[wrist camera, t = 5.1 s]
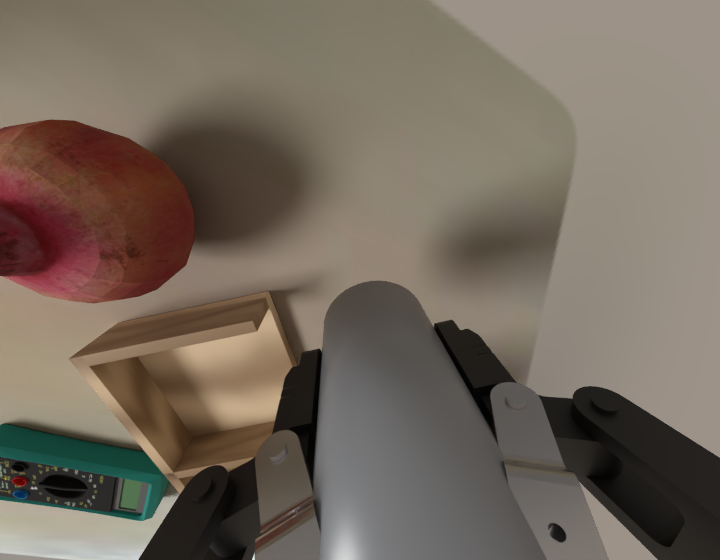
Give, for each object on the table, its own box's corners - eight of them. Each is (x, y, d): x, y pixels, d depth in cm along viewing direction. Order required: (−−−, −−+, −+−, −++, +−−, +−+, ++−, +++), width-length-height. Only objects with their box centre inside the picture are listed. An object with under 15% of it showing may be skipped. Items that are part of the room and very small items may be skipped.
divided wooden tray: (117, 322, 20) (68, 358, 17) (268, 291, 20) (252, 320, 16) (241, 504, 30) (227, 551, 27) (343, 484, 30) (343, 530, 26)
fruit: (174, 287, 19) (23, 400, 10) (57, 198, 17) (-292, 245, 7) (249, 211, 18) (149, 266, 8) (132, 97, 15) (-204, -2, 6)
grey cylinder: (311, 294, 12) (244, 665, 3) (418, 270, 12) (641, 584, 3) (337, 374, 15) (339, 734, 6) (428, 354, 14) (583, 687, 5)
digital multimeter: (-1, 415, 24) (-45, 448, 21) (178, 451, 27) (160, 484, 24) (4, 466, 26) (-35, 501, 24) (167, 493, 29) (149, 527, 27)
